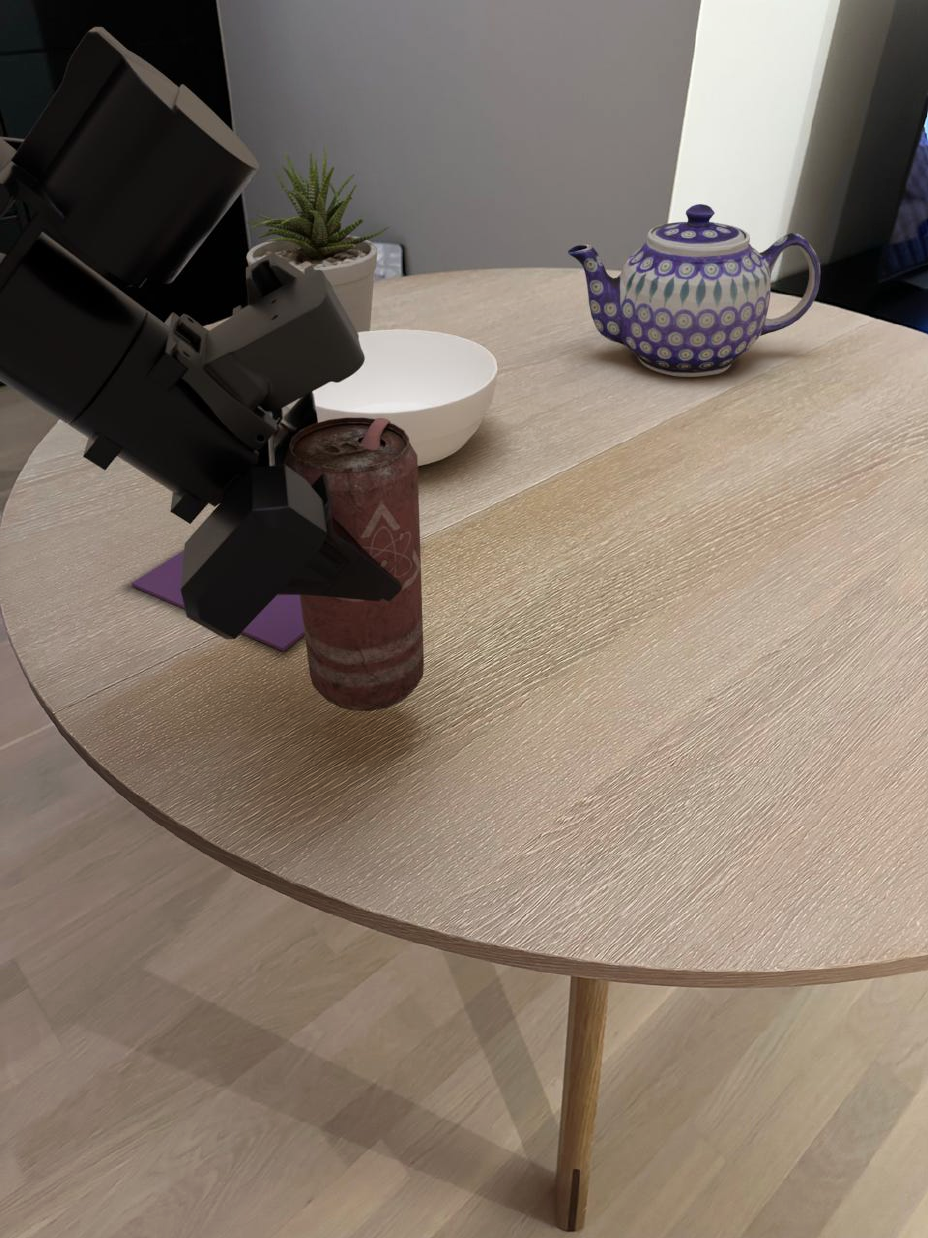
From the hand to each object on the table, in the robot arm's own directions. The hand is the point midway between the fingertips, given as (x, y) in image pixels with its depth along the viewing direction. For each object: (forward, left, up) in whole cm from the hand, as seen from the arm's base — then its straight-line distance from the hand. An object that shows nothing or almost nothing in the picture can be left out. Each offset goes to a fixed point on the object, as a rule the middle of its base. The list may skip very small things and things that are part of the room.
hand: (388, 563), depth 46 cm
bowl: (-21, +29, -11) cm, 38 cm away
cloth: (-17, +9, -11) cm, 22 cm away
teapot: (-7, +61, -11) cm, 62 cm away
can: (-1, -1, -7) cm, 7 cm away
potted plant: (-38, +41, -11) cm, 57 cm away
